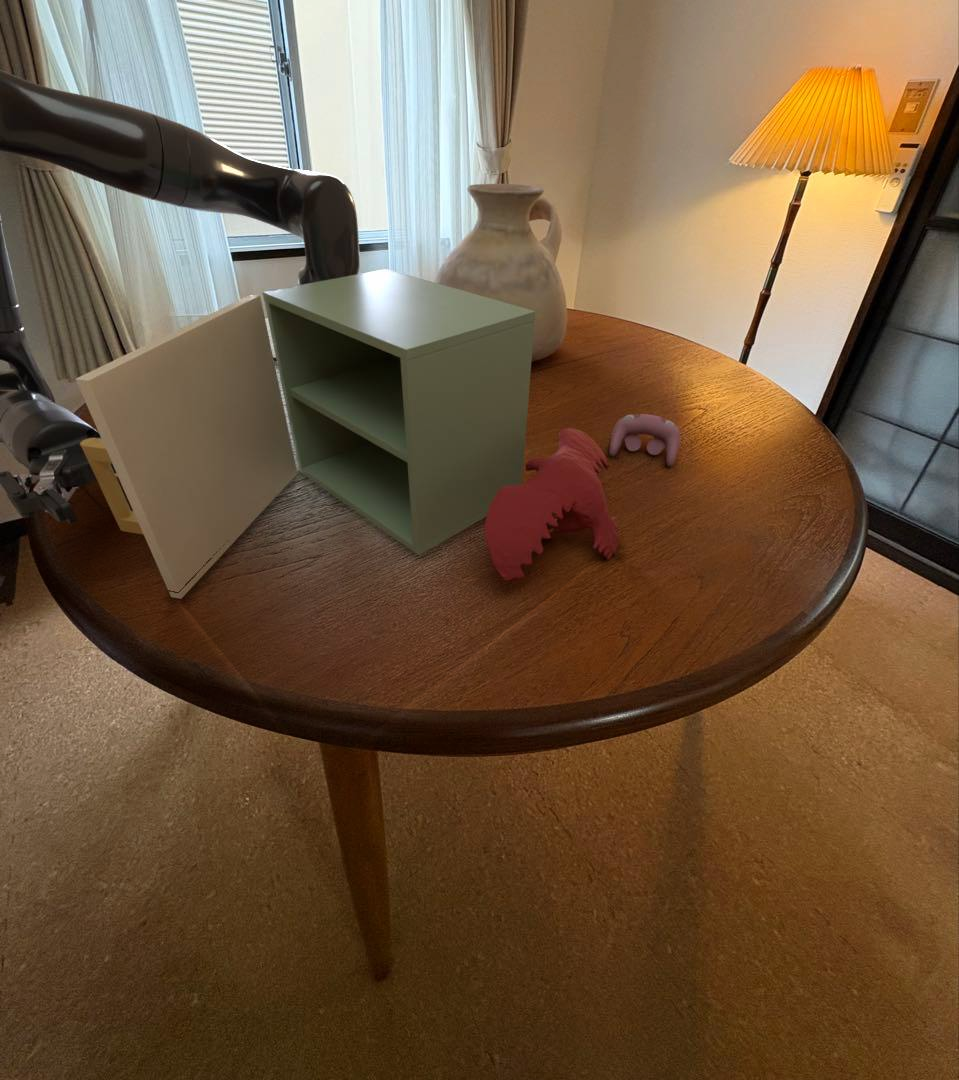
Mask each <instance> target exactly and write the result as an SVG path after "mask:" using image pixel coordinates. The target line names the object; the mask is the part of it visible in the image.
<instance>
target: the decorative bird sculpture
mask: <svg viewBox="0 0 959 1080" xmlns="http://www.w3.org/2000/svg"><path fill="white" fill-rule="evenodd" d="M558 444H559V445H558V450H557V452H556V453H554V454H552V455H551V456H546V457H545V456H543V457H535V458H532V459H530V460H528V461H527V462H526V464H525V471H526V472H530V471H536V473H535V474H534V475H533V476H532V477H531V478H530V479H529V480H527V481H526V482H523V483H522V484H521V485H517V486H504V487H502V488H500V489H499V491H498V493H497V495H496V496H495V498H494V499H493V501H492V503H491V505H490V507H489V510H488V515H487V516H486V519H485V523H484V528H483V531H484V539H485V542H486V545H487V549H488V551H489V556H490V560H491V562H492V563H493V565H494V567H495V569H496V571H497V573H498V574H499V575H500V577H501V578H502V579H503V581H510V580H513V579H515V578H516V579H521V578H522V579H523V578H524V577H525V574H524V572H523V570H522V568H521V567H522V565H523V566H528V565H533V559H532V557H533V556H532V555H533V554H532V553H536V554H537V555H541V554H543V552H544V547H543V544H542V539H543V540H549V539H551V538H552V536H551V534H550V533H552V532H554V533H556V534H561V533H574V532H581V531H583V530H586V529H589V530H590V532H591V534H592V536H593V546H592V548H593V549H594V550H595V549H597V551H598V554H599V555H600V554H601V553H602V554H603V556H604V557H605V559H606V560H610V559H611V558H612V557H616V555H617V553H618V551H617V548H618V547H619V544H618V540H619V538H620V537H621V536H620V534H619V533H618V529H619V526H620V525H619V524H618V523H616V520H617V517H616V516H615V515H614V516H612V517H611V515H610V511H609V508H608V503H607V499H606V495H605V493H604V489H603V484H602V482H601V480H600V478H598V474H600V469H601V470H606V471H609V468H611V467H612V466H611V464H610V463H609V461H608V459H607V457H606V455H605V454H604V452H603V450H602V449H601V447H600V446H599V444H597V442H596V441H595V440H594V439H592V437H590V436H589V435H588V434H586V432H584V431H582V430H580V429H576V428H572V427H567V428H563V429H561V430H560V431H559V433H558ZM548 526H549V527H552V528H550V529H548Z"/></svg>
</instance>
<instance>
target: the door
mask: <svg viewBox="0 0 959 1080" xmlns="http://www.w3.org/2000/svg"><path fill="white" fill-rule="evenodd" d="M264 311H265V310H264V306H263V302H262V298H261V295H260V294H249V295H247V296H245V297H243V298H240V299H239V300H236V301H235V302H232V303H230V304H229V305H226V306H224V307H222V308H220V309H218V310H216V311H213V312H211V313H210V314H207V315H205V316H203V317H202V318H199V319H197V320H195V321H192V322H191V323H188V324H187V325H184V326H182V327H180V328H179V329H176V330H175V331H171V332H170V333H168V334H165V335H164V336H162V337H160V338H157V339H155V340H154V341H151V342H149V343H147V344H145V345H143V346H141V347H139V348H137V349H134V350H133V351H131V352H129V353H126V354H124V355H122V356H120V357H118V358H116V359H114V360H112V361H110V362H108V363H106V364H103V365H102V366H99V367H97V368H95V369H93V370H90V371H89V372H86V373H85V374H83V375H80V376H78V377H77V378H75V382H76V383H77V386H78V389H79V391H80V393H81V396H82V398H83V400H84V403H85V404H86V407H87V408H88V411H89V414H90V416H91V418H92V420H93V423H94V425H95V427H96V429H97V431H98V432H99V434H100V436H101V439H99V438H89V439H85V440H83V441H82V442H81V443H80V445H81V447H82V449H83V451H84V453H85V455H86V458H87V460H88V462H89V464H90V466H91V468H92V470H93V473H94V475H95V477H96V479H97V480H96V481H97V483H98V485H99V487H100V490H101V492H102V494H103V496H104V498H105V500H106V503H107V505H108V507H109V509H110V512H111V513H112V516H113V517H114V520H115V522H116V524H117V526H118V528H119V529H120V531H121V532H125V533H130V534H131V533H132V534H137V535H143V536H144V538H145V541H146V543H147V545H148V548H149V550H150V552H151V555H152V557H153V560H154V561H155V564H156V566H157V568H158V571H159V573H160V575H161V577H162V579H163V582H164V584H165V586H166V589H167V591H168V590H171V591H175V592H179V591H180V590H181V589H182V588H183V587H184V586H185V584H186V583H187V582H188V581H189V580H190V579H191V578H192V577H193V576H194V575H195V574H196V573H197V572H198V571H199V570H200V569H201V568H202V567H203V565H205V564H206V562H207V561H208V560H209V559H210V558H212V557H213V558H212V559H211V560H210V561H209V562H208V563H207V564H206V565H205V566H204V567H203V568H202V569H201V570H200V571H199V572H198V573H197V574H196V576H195V577H194V578H193V579H192V580H191V581H190V582H189V583H188V584H187V585H186V586H185V587H184V588H183V589H182V590H181V591H180V592H179V593H174V592H169V591H168V593H169V594H170V597H171V598H174V599H179V600H182V599H183V598H184V597H185V596H186V594H187V593H188V592H189V591H190V590H192V589H193V587H194V586H195V585H196V584H197V583H198V582H199V581H200V579H201V578H202V577H203V576H204V575H205V574H207V572H208V570H210V569H211V568H212V567H213V565H215V563H216V562H217V561H218V560H220V558H221V557H222V556H223V555H224V554H225V552H226V551H228V549H230V547H231V546H232V545H233V544H234V543H235V542H236V540H238V539H239V537H240V536H242V534H243V533H244V532H245V531H246V530H247V529H248V528H249V527H250V526H251V524H252V523H254V521H255V520H256V519H257V518H258V517H259V516H260V515H261V514H262V513H263V512H264V511H265V509H266V508H267V507H268V506H269V505H270V504H271V503H273V501H274V500H275V499H276V498H277V497H278V496H279V494H280V493H281V492H282V491H283V490H284V489H285V488H286V487H287V486H288V485H289V484H290V483H291V482H292V481H293V479H294V478H296V476H298V469H297V464H296V459H295V455H294V450H293V446H292V445H293V444H292V441H291V436H290V431H289V430H290V429H289V425H288V421H287V417H286V412H285V408H284V402H283V398H282V393H281V389H280V383H279V378H278V373H277V368H276V364H275V361H274V359H273V357H274V355H273V349H272V344H271V341H270V335H269V331H268V326H267V322H266V317H265V312H264ZM110 463H112V464H113V466H114V468H115V470H116V473H117V475H118V477H116V476H115V473H114V471H113V469H112V467H111V464H110ZM119 482H120V483H119ZM120 484H121V485H120ZM121 486H122V487H121ZM123 490H124V492H123ZM124 493H125V494H124ZM125 495H126V496H125ZM127 500H128V501H127ZM129 504H130V505H129ZM130 506H131V507H130ZM131 509H132V510H131ZM228 540H229V541H228ZM227 541H228V542H227ZM224 544H225V545H224ZM223 545H224V546H223ZM220 548H221V549H220ZM219 549H220V550H219ZM217 551H218V552H217ZM216 552H217V553H216ZM215 553H216V554H215ZM214 554H215V555H214ZM213 555H214V556H213Z"/></svg>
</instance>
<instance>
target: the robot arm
mask: <svg viewBox="0 0 959 1080" xmlns="http://www.w3.org/2000/svg"><path fill="white" fill-rule="evenodd" d="M0 152H3V153H8V154H14V155H19V156H23V157H28V158H32V159H35V160H39V161H44V162H47V163H49V164H53V165H56V166H58V167H61V168H64V169H66V170H68V171H71V172H72V173H73V172H74V173H76V174H79V175H81V176H83V177H86V178H88V179H90V180H93V181H96V182H98V183H101V184H104V185H105V186H109V187H111V188H114V189H116V190H119V191H123V192H125V193H129V194H132V195H135V196H138V197H141V198H144V199H148V200H151V201H155V202H159V203H162V204H166V205H170V206H174V207H178V208H182V209H188V210H193V211H200V212H205V213H213V214H226V215H237V216H243V217H247V218H251V219H254V220H256V221H259V222H261V223H264V224H267V225H270V226H273V227H275V228H278V229H280V230H283V231H285V232H287V233H290V234H292V235H294V236H296V237H298V238H301V239H303V244H304V253H305V265H304V267H302V268H301V269H299V270H298V273H297V279H298V281H297V283H298V285H304V284H309V283H314V282H319V281H325V280H330V279H335V278H341V277H346V276H351V275H357V274H359V272H360V269H361V268H360V267H361V258H360V257H361V255H360V242H359V223H358V214H357V209H356V204H355V200H354V197H353V195H352V193H351V190H350V189H349V187H348V186H347V185H346V183H344V182H343V180H341V178H338V177H337V176H334V175H332V174H327V173H321V172H316V171H310V170H302V169H301V170H300V169H292V168H287V167H282V166H278V165H273V164H270V163H265V162H262V161H258V160H254V159H252V158H249V157H247V156H244V155H242V154H241V153H238V152H236V151H234V150H233V149H231V148H230V147H227V146H226V145H224V144H223V143H221V142H220V141H217V140H216V139H214V138H212V137H210V136H208V135H207V134H204V133H202V132H200V131H198V130H197V129H193V128H191V127H189V126H187V125H184V124H182V123H180V122H176V121H173V120H171V119H169V118H164V117H162V116H161V115H160V116H159V115H157V114H154V113H152V112H149V111H145V110H142V109H139V108H136V107H132V106H128V105H125V104H122V103H118V102H113V101H111V100H106V99H102V98H98V97H92V96H89V95H84V94H79V93H74V92H68V91H64V90H59V89H55V88H51V87H47V86H44V85H41V84H38V83H35V82H32V81H30V80H27V79H24V78H22V77H19V76H16V75H14V74H12V73H10V72H7V71H5V70H2V69H0ZM19 302H20V301H19V298H18V292H17V288H16V284H15V279H14V275H13V271H12V266H11V262H10V257H9V252H8V249H7V244H6V239H5V233H4V228H3V222H2V216H1V214H0V361H4V362H6V363H8V365H9V368H10V370H4V371H3V370H0V443H2V444H4V445H5V447H6V448H7V449H8V450H7V451H9V452H10V453H11V455H12V456H13V458H14V459H15V460H16V461H17V462H18V463H19V464H21V465H23V466H24V467H25V468H26V469H27V470H28V471H27V472H23V473H20V474H18V473H14V474H12V473H11V472H10V471H9V470H5V471H0V487H1V489H2V490H3V492H4V494H5V496H6V497H7V499H8V501H10V503H11V504H12V506H13V507H14V509H15V510H16V512H17V513H18V514H19V515H20V517H21V518H23V519H29V518H32V517H34V516H35V515H37V512H38V511H44V512H45V513H48V514H49V515H50V516H51V517H52V518H53V519H54V520H55V521H56V522H60V523H62V522H64V521H66V522H67V523H68V524H69V525H70V524H73V523H76V522H78V521H79V518H78V516H77V515H76V512H75V511H74V509H73V506H72V505H71V504H70V502H69V501H70V500H71V498H72V497H73V495H74V493H75V492H76V490H77V489H80V488H82V487H85V486H88V485H89V484H93V483H94V482H96V481H97V479H96V477H95V475H94V473H93V470H92V468H91V466H90V464H89V462H88V460H87V458H86V455H85V453H84V451H83V449H82V447H81V445H80V443H81V442H82V441H83V440H85V439H89V438H99V439H101V436H100V434H99V432H98V430H96V429H95V428H94V427H93V426H91V425H90V424H89V423H87V422H86V421H85V420H83V419H81V417H79V416H77V415H76V414H74V413H73V412H71V411H70V410H69V409H67V408H65V407H63V406H61V405H58V404H56V399H55V397H54V394H53V392H52V390H51V388H50V386H49V385H48V383H47V381H46V379H45V378H44V376H43V374H42V372H41V371H40V369H39V367H38V365H37V362H36V360H35V358H34V356H33V353H32V352H31V349H30V347H29V344H28V341H27V337H26V333H25V329H24V324H23V318H22V314H21V313H22V312H21V308H20V307H21V306H20V303H19ZM273 359H274V362H276V363H277V360H276V356H273ZM110 464H111V467H112V469H113V471H114V473H115V476H116V478H119V477H118V475H117V473H116V470H115V468H114V466H113V464H112V463H110ZM34 484H36V485H35V486H34V488H33V491H30V490H31V486H32V485H34ZM29 491H30V492H29Z"/></svg>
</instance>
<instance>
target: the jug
mask: <svg viewBox="0 0 959 1080" xmlns="http://www.w3.org/2000/svg"><path fill="white" fill-rule="evenodd" d="M466 190H467V192H468V194H469V195H470V196H471V198H472V199H473V201H474V203H475V205H476V208H477V219H476V221H475V224H474V226H473V228H472V230H471V231H469V232H468V234H466V235H465V237H464V238H462V240H461V241H459V243H458V244H457V245H456V246H455V247H454V248H453V249H452V250H451V251H450V252H449V253H448V254H447V256H446V257H445V259H444V260H443V262H442V263H441V265H440V266H439V269H438V272H437V273H436V275H435V278H434V279H433V282H434V283H438V284H441V285H445V286H448V287H452V288H455V289H459V290H462V291H466V292H469V293H473V294H476V295H480V296H483V297H487V298H490V299H494V300H497V301H501V302H504V303H508V304H511V305H515V306H518V307H522V308H526V309H529V310H533V311H535V321H534V334H533V347H532V360H531V363H534V362H536V361H539V360H543V359H545V358H548V357H549V356H550V355H552V354H554V353H555V352H557V350H558V349H560V347H561V345H562V344H563V341H564V339H565V336H566V333H567V327H568V325H567V324H568V309H567V307H568V306H567V298H566V293H565V288H564V284H563V281H562V278H561V276H560V272H559V269H558V268H557V266H556V262H557V258H558V255H559V252H560V247H561V242H562V232H563V231H562V226H561V221H560V217H559V215H558V212H557V209H556V207H555V206H554V204H553V203H552V202H551V201H550V200H549V199H548V198H546V197H543V196H542V195H543V194H544V188H542V187H541V186H533V185H525V184H515V183H514V184H513V183H510V184H509V183H480V184H479V183H478V184H477V183H476V184H470V185H468V186H467V189H466ZM536 220H537V221H538V220H545V221H547V222H549V226H548V231H547V234H546V235H545V236H544V238H543V239H540V240H539V239H538V238H537V236H535V234H534V232H533V230H532V227H531V224H530V222H531V221H536Z"/></svg>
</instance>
